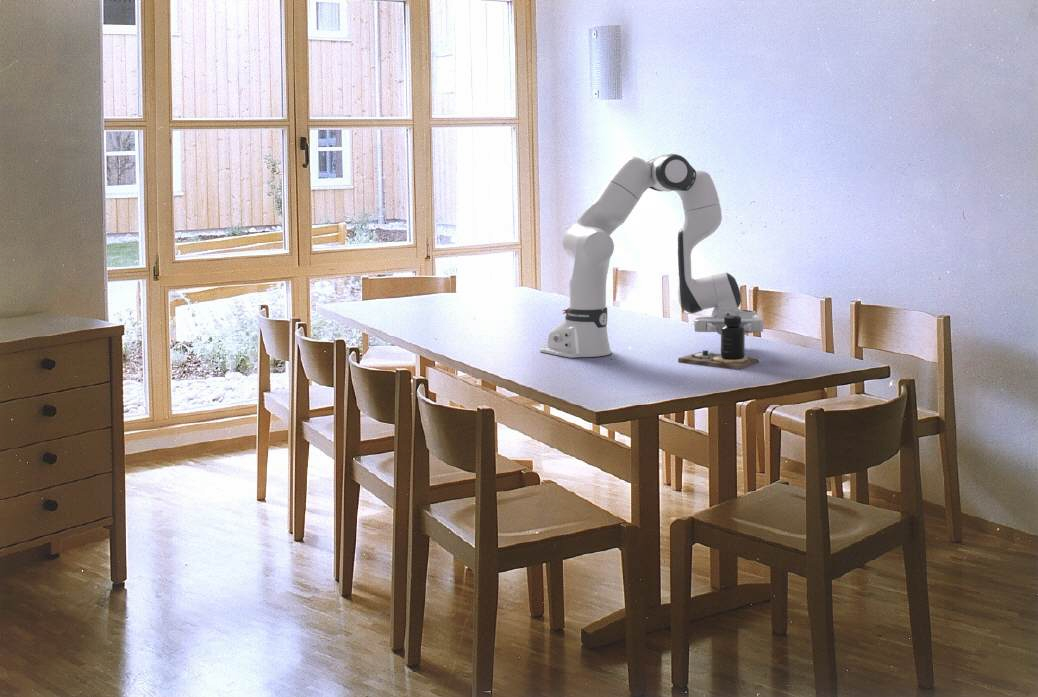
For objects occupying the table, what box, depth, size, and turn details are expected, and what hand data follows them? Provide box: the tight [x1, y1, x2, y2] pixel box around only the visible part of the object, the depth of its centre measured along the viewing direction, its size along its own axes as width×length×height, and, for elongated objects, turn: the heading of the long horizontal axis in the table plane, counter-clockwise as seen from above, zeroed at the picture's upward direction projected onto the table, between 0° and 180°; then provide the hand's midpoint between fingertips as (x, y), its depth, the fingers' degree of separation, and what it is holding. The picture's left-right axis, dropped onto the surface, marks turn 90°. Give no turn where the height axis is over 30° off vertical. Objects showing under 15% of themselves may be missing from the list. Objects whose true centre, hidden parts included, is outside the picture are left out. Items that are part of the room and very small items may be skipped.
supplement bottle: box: [720, 316, 746, 360], centre depth 350 cm, size 7×7×12 cm
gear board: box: [677, 349, 760, 371], centre depth 354 cm, size 20×12×3 cm, turn 50°
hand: (730, 328), depth 353 cm, fingers open, 8 cm apart
